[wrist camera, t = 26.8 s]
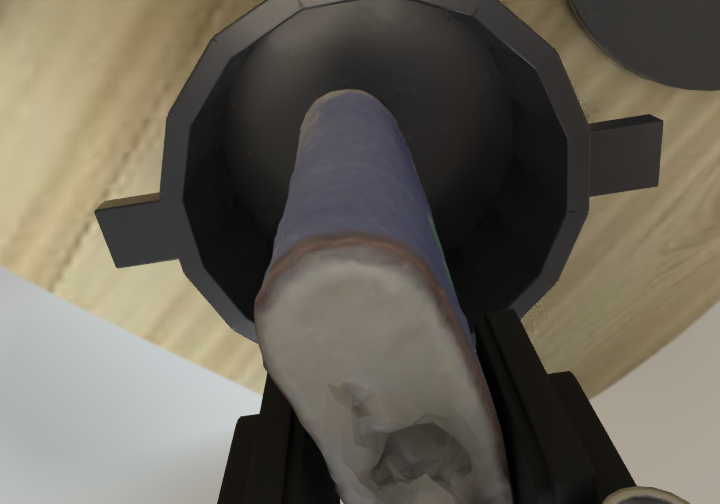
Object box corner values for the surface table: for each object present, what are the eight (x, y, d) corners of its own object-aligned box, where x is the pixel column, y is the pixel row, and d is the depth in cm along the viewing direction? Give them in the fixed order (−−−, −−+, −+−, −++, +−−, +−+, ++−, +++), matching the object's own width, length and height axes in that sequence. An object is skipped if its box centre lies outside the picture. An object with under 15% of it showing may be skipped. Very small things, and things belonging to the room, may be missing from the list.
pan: (583, 252, 29) (655, 338, 22) (202, 309, 30) (160, 407, 23) (590, -72, 23) (694, -89, 16) (104, 13, 24) (8, 31, 17)
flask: (287, 98, 14) (173, 388, 5) (404, 69, 14) (542, 308, 4) (372, 382, 18) (406, 846, 9) (462, 363, 18) (600, 818, 8)
